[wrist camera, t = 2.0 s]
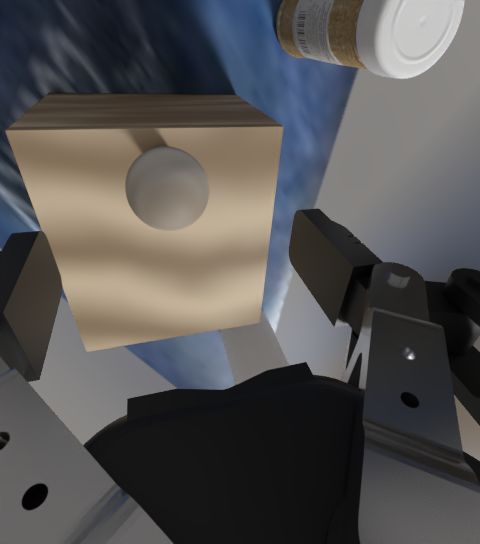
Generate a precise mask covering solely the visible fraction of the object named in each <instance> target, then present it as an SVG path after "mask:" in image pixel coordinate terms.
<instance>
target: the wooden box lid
mask: <svg viewBox="0 0 480 544" xmlns="http://www.w3.org/2000/svg"><path fill="white" fill-rule="evenodd" d="M5 132H6V134H7V137H8V140H9V143H10V145H11V148H12V151H13V153H14V156H15V159H16V162H17V164H18V167H19V170H20V172H21V175H22V178H23V181H24V183H25V186H26V189H27V191H28V194H29V197H30V200H31V202H32V205H33V208H34V210H35V213H36V216H37V219H38V221H39V224H40V227H41V229H42V231H43V232H44V233H45V235H46V236H47V239H48V241H49V244H50V247H51V250H52V253H53V255H54V258H55V261H56V264H57V266H58V269H59V272H60V275H61V280H62V286H63V289H64V292H65V294H66V297H67V300H68V303H69V305H70V308H71V310H72V313H73V316H74V319H75V321H76V324H77V327H78V330H79V332H80V335H81V338H82V341H83V343H84V346H85V349H86V351H87V352H88V351H94V350H100V349H106V348H112V347H118V346H124V345H130V344H136V343H142V342H148V341H154V340H160V339H166V338H172V337H178V336H184V335H190V334H196V333H202V332H208V331H214V330H220V329H226V328H232V327H238V326H244V325H250V324H256V323H260V316H261V307H262V299H263V291H264V283H265V274H266V266H267V258H268V250H269V241H270V233H271V225H272V217H273V208H274V200H275V192H276V183H277V175H278V167H279V159H280V150H281V142H282V134H283V126H282V125H280V124H247V125H164V126H82V127H9V128H7V129H6V130H5Z"/></svg>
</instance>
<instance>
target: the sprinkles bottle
mask: <svg viewBox="0 0 480 544" xmlns="http://www.w3.org/2000/svg"><path fill="white" fill-rule="evenodd" d="M464 2H465V0H283V1H282V3H281V5H280V8H279V10H278V14H277V20H276V29H277V37H278V40H279V43H280V45H281V47H282V48H283V49H284V50H285V51H286V52H287V54H289V55H291V56H293V57H295V58H309V59H315V60H318V61H322V62H327V63H332V64H338V65H344V66H350V67H357V68H363V69H368V70H369V71H371V72H372V73H374V74H376V75H380V76H384V77H390V78H397V79H406V78H411V77H414V76H417V75H419V74H421V73H423V72H424V71H426V70H427V69H429V68H430V67H431V66H432V65H433V64H435V63H436V61H438V59H439V58H440V57H441V56H442V55H443V53H444V52H445V51H446V49H447V48H448V46H449V45H450V43H451V41H452V40H453V38H454V36H455V34H456V32H457V29H458V26H459V23H460V21H461V17H462V13H463V8H464Z"/></svg>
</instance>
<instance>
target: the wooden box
mask: <svg viewBox="0 0 480 544" xmlns="http://www.w3.org/2000/svg"><path fill="white" fill-rule="evenodd" d="M247 124H279V123H277V122H276V121H274V120H273V119H271V118H270V117H268V116H267V115H265V114H264V113H262V112H261V111H259V110H258V109H257V108H255V107H254V106H252V105H251V104H249V103H248V102H246V101H245V100H243V99H242V98H240V97H239V96H237V95H208V94H115V93H48V94H47V95H46V96H45V97H44V98H42V99H41V100H40V101H39V102H38V103H37V104H35V105H34V106H33V107H32V108H31V109H30V110H28V111H27V112H26V113H25V114H24V115H23V116H21V117H20V118H19V119H18V120H17V121H16V122H14V123H13V124H12V125H11V126H10V127H82V126H164V125H247Z"/></svg>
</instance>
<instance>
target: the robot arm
mask: <svg viewBox="0 0 480 544" xmlns="http://www.w3.org/2000/svg"><path fill="white" fill-rule="evenodd" d="M289 258H290V261H291V264H292V266H293V267H294V269H295V270H296V272H297V273H298V274H299V276H300V277H301V279H302V280H303V282H304V283H305V285H306V286H307V288H308V289H309V290H310V292H311V294H312V295H313V296H314V298H315V299H316V301H317V302H318V304H319V305H320V307H321V308H322V309H323V311H324V313H325V314H326V315H327V317H328V318H329V320H330V321H331V323H332V324H333V325H334V327H339V326H344V325H350V326H351V331H350V334H349V338H348V343H347V349H346V355H345V361H344V367H343V372H342V378H341V381H340V380H338V379H334V378H330V377H326V376H319V375H313V374H312V372H311V370H310V368H309V367H308V365H307V363H306V362H305V363H300V364H295V365H290V366H285V367H280V368H275V369H270V370H266V371H264V372H262V373H260V374H258V375H256V376H254V377H252V378H250V379H248V380H245V381H243V382H241V383H239V384H237V385H235V386H233V387H231V388H229V389H225V390H201V389H174V390H169V391H164V392H159V393H154V394H149V395H145V396H139V397H134V398H130V399H128V405H127V406H128V407H127V415H126V416H123V417H121V418H119V419H117V420H116V421H114V422H112V423H111V424H109V425H107V426H106V427H104V428H103V429H102V430H100V431H99V432H98V433H96V434H95V435H94V436H93V437H92V438H91V439H90V440H89V441H88V442H86V443H85V444H84V445H82V444H81V443H80V442H79V441H78V439H77V438H76V437H75V436H74V435H73V434H72V433H71V431H70V430H69V429H68V428H67V427H66V426H65V425H64V423H63V422H62V421H61V420H60V419H59V418H58V417H57V415H56V414H55V413H54V412H53V411H52V410H51V409H50V407H49V406H48V405H47V404H46V403H45V402H44V401H43V399H42V398H41V397H40V396H39V395H38V394H37V392H35V390H34V389H33V388H32V387H31V386H30V384H29V383H28V382H29V381H35V380H39V379H40V375H41V372H42V368H43V364H44V360H45V356H46V352H47V349H48V344H49V341H50V337H51V333H52V329H53V325H54V321H55V317H56V314H57V310H58V306H59V302H60V298H61V294H62V280H61V275H60V272H59V269H58V266H57V264H56V261H55V258H54V255H53V253H52V250H51V247H50V244H49V241H48V239H47V236H46V235H45V233H44V232H43V231H34V232H22V233H13V234H11V236H10V237H9V239H8V241H7V242H6V244H5V246H4V248H3V249H2V251H0V544H480V461H478V460H477V459H475V458H474V457H472V456H470V455H469V454H467V453H465V452H464V451H463V450H462V443H461V437H460V431H459V424H458V418H457V411H456V405H455V399H454V395H455V396H456V397H457V398H458V400H459V401H460V402H461V403H462V405H463V406H464V407H465V408H466V410H467V411H468V412H469V413H470V414H471V416H472V417H473V418H474V419H475V420H476V422H477V423H478V424H479V425H480V352H479V351H478V350H477V349H476V348H475V347H474V346H473V344H474V343H475V341H476V340H477V338H478V337H479V336H480V271H478V270H474V269H466V268H461V269H456V270H454V271H453V272H452V273H451V275H450V277H449V279H448V281H447V283H443V282H431V281H425V280H424V278H423V277H422V276H421V275H420V274H419V273H418V272H417V271H415V270H414V269H412V268H410V267H408V266H405V265H403V264H399V263H394V262H382V261H381V260H380V259H379V258H378V257H376V255H374V253H372V252H371V251H370V250H369V249H368V248H367V247H366V246H365V245H364V244H363V243H361V241H360V240H358V239H357V238H356V237H354V235H353V234H352V233H351V232H350V231H349V230H348V229H346V228H345V227H344V226H342V225H340V224H338V223H336V222H334V221H331V220H330V219H329V218H328V217H327V216H326V215H325V214H324V213H323V212H322V211H321V210H320V209H307V210H298V211H296V213H295V216H294V220H293V227H292V233H291V239H290V245H289Z"/></svg>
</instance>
